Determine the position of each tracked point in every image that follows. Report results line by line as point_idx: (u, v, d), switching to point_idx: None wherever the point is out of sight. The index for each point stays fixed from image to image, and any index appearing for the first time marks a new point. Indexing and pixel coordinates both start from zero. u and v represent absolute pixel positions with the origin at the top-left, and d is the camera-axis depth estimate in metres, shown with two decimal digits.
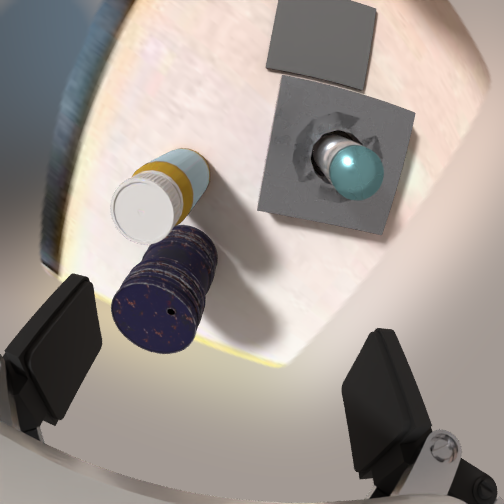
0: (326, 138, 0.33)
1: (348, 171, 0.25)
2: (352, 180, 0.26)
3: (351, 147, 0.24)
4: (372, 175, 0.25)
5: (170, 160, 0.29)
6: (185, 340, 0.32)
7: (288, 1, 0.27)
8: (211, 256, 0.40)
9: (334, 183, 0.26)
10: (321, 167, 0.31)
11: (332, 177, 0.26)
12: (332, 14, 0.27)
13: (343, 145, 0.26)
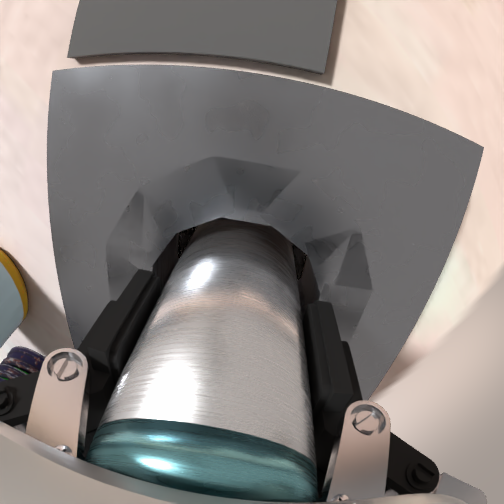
0: (199, 235, 0.12)
1: None
2: None
3: (126, 464, 0.04)
4: None
5: None
6: None
7: None
8: None
9: None
10: None
11: None
12: None
13: (137, 388, 0.05)
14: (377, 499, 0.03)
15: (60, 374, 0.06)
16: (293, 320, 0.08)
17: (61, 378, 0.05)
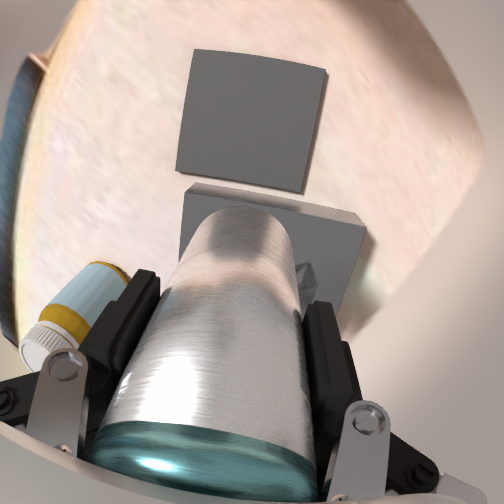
0: (199, 237, 0.12)
1: None
2: None
3: (128, 466, 0.04)
4: None
5: (71, 301, 0.25)
6: None
7: (202, 73, 0.24)
8: None
9: None
10: None
11: None
12: (261, 86, 0.24)
13: (138, 391, 0.05)
14: (377, 499, 0.03)
15: (60, 374, 0.06)
16: (293, 322, 0.08)
17: (61, 378, 0.05)
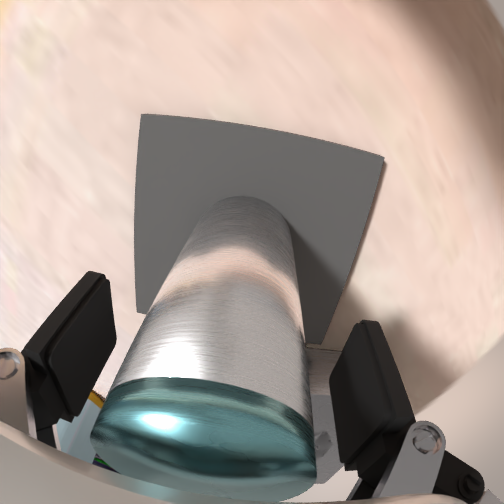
0: (203, 224, 0.13)
1: (158, 468, 0.05)
2: (183, 483, 0.06)
3: (136, 418, 0.04)
4: (263, 483, 0.05)
5: None
6: None
7: (158, 163, 0.14)
8: None
9: (125, 475, 0.06)
10: None
11: (111, 465, 0.06)
12: (266, 190, 0.15)
13: (147, 352, 0.06)
14: (377, 499, 0.03)
15: (2, 374, 0.05)
16: (291, 298, 0.09)
17: (4, 377, 0.05)
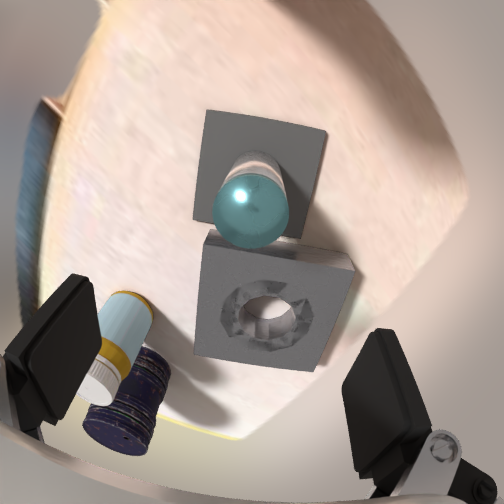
0: (240, 158, 0.27)
1: (236, 211, 0.20)
2: (243, 223, 0.20)
3: (238, 178, 0.19)
4: (271, 215, 0.20)
5: (107, 331, 0.31)
6: (141, 451, 0.33)
7: (214, 134, 0.29)
8: (162, 376, 0.42)
9: (218, 228, 0.20)
10: None
11: (215, 220, 0.20)
12: (267, 147, 0.29)
13: (235, 174, 0.20)
14: (377, 499, 0.03)
15: None
16: (279, 175, 0.24)
17: None
